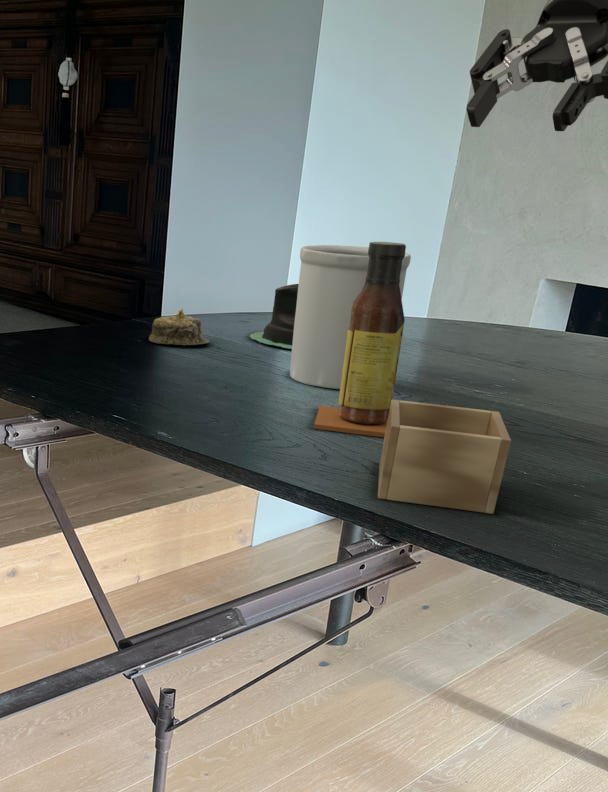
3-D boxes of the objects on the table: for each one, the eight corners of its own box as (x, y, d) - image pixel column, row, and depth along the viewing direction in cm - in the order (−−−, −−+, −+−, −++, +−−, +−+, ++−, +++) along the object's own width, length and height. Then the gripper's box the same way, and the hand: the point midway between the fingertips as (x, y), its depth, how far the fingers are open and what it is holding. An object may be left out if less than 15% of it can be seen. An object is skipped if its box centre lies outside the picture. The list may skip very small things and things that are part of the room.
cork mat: (400, 419, 123) (400, 415, 123) (400, 439, 114) (401, 434, 114) (319, 410, 125) (319, 405, 125) (313, 429, 116) (314, 423, 116)
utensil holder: (275, 383, 137) (293, 248, 130) (292, 364, 150) (309, 241, 142) (383, 397, 134) (408, 259, 126) (390, 376, 147) (413, 250, 139)
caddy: (483, 479, 102) (499, 411, 99) (493, 514, 92) (511, 440, 89) (379, 465, 104) (391, 399, 101) (377, 498, 94) (391, 425, 91)
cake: (148, 349, 157) (147, 313, 154) (149, 339, 166) (148, 305, 163) (211, 348, 156) (211, 313, 154) (208, 338, 165) (209, 304, 163)
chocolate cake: (360, 331, 177) (387, 356, 160) (263, 375, 181) (279, 405, 164) (332, 250, 171) (356, 267, 153) (232, 298, 175) (245, 320, 157)
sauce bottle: (398, 425, 118) (432, 247, 109) (354, 427, 115) (384, 245, 107) (367, 411, 123) (397, 240, 114) (324, 413, 121) (351, 238, 112)
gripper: (523, -39, 96) (437, 85, 94) (675, -49, 87) (583, 88, 85) (535, 31, 102) (454, 150, 100) (678, 29, 93) (592, 159, 91)
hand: (513, 121), depth 93 cm, fingers open, 8 cm apart
